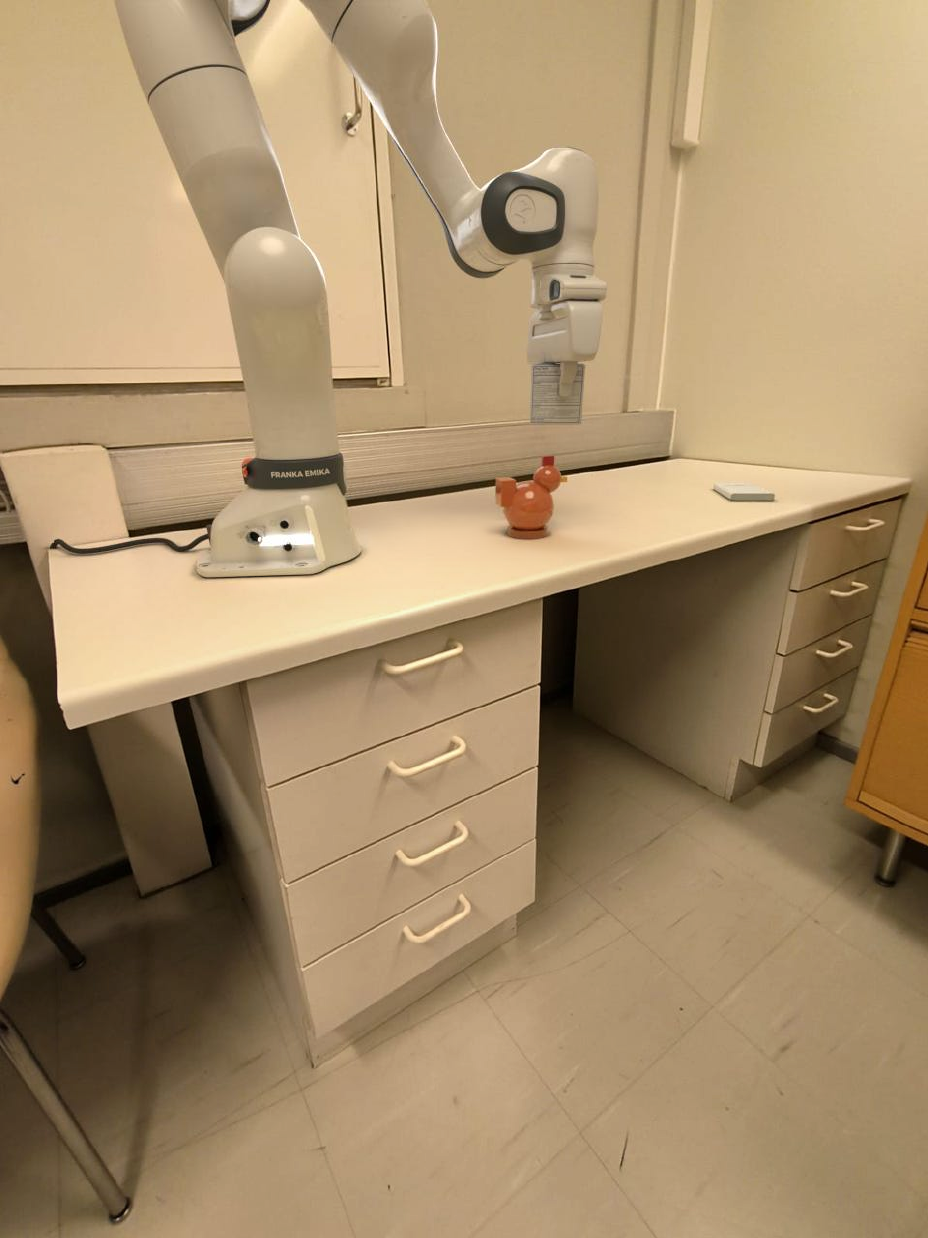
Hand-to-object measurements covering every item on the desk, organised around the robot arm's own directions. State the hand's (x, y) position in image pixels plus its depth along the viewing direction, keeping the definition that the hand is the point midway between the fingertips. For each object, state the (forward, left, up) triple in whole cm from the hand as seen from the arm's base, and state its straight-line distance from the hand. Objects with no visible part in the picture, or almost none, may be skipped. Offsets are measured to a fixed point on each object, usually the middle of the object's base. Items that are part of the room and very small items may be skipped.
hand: (556, 395), depth 87 cm
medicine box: (0, 0, -4) cm, 4 cm away
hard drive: (+47, +13, -21) cm, 53 cm away
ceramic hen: (-5, -3, -21) cm, 21 cm away
